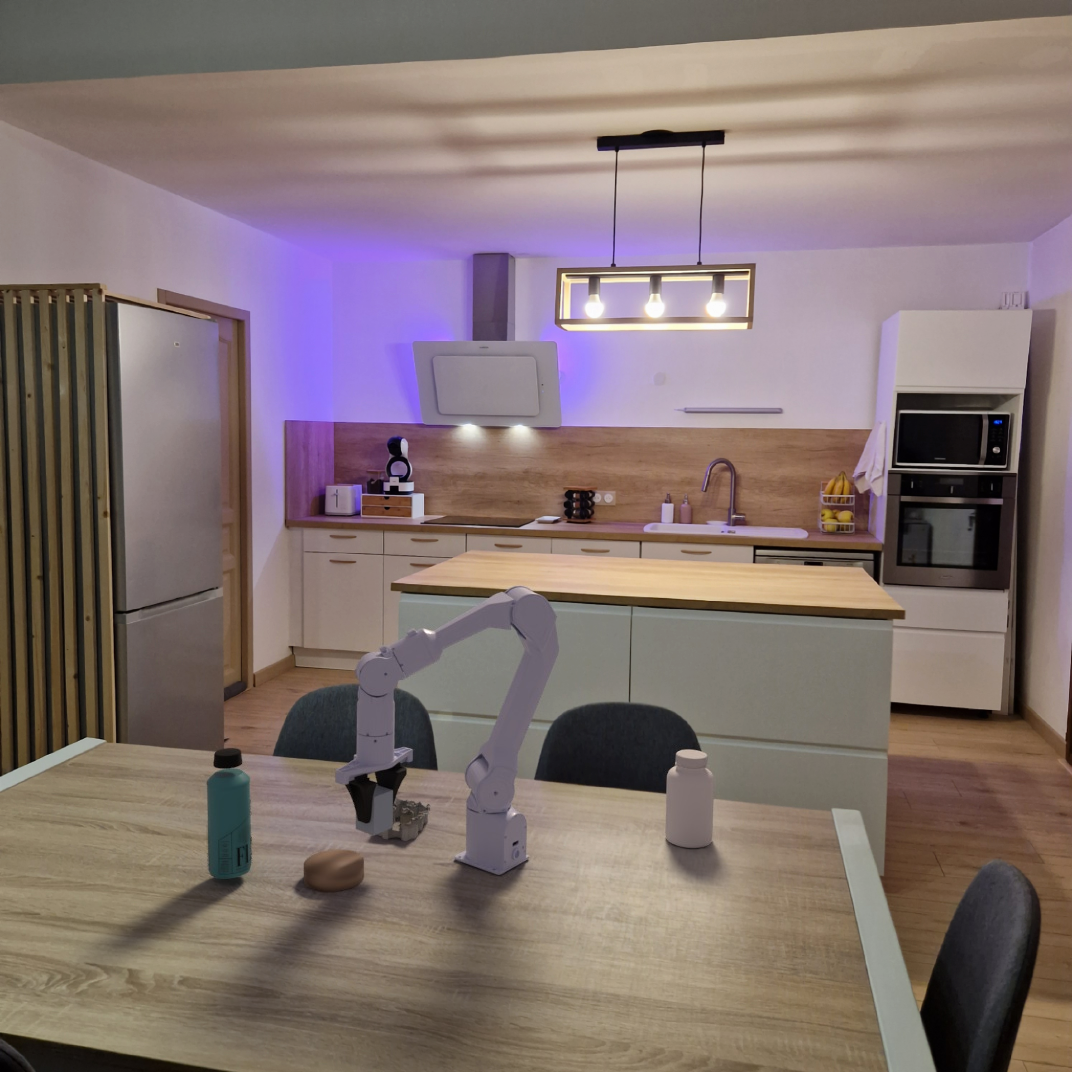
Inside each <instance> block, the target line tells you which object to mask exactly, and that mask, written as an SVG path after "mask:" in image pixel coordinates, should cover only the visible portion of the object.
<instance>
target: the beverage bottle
mask: <svg viewBox="0 0 1072 1072" xmlns="http://www.w3.org/2000/svg"><path fill="white" fill-rule="evenodd" d="M242 765H243V755H242V751H241V749H240V748H236V747H235V748H234V747H226V748H222V749H218V750H216V751H215V752H214V754H213V768H215V769H219V770H217V771H215V772H214V773H213V774H212V775H210V776H209V778H207V781H206V784H205V785H206V793H207V794H206V795H207V797H206V798H207V799H206V800H207V805H206V807H207V809H206V810H207V821H206V822H207V833H206V836H207V838H206V840H207V845H206V850H207V856H206V857H207V858H206V863H207V864H206V865H207V867H206V869H207V870H208V872H209V875H210V876H211V877H213V878H215V879H216V878H217V879H224V880H225V879H226V880H227V879H234V878H238V877H241V876H244V875H246V874H247V873H249V871H251V867H252V864H253V861H252V860H253V849H252V848H253V847H252V842H253V838H252V833H253V832H252V824H251V823H252V822H251V815H252V810H251V809H252V807H251V803H252V800H251V799H252V797H251V790H250V789H251V785H250V782H251V777H250V776H249V775H248V773H246V772H245V771H244V770H242V769H240V768H239V767H240V766H242Z"/></svg>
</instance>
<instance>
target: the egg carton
mask: <svg viewBox="0 0 1072 1072" xmlns="http://www.w3.org/2000/svg"><path fill="white" fill-rule="evenodd" d="M430 811H431V805H430V804H429V803H427V804H426V805H423V804H422V801H418V802H416V801H415V800H409V799H406V800H403V799H401V798H399V797H396V798H395V802H394V805H393V828H391V829H388V830H386V831H384V832H381V833H379V834H377V836H380V837H382V839H383V840H390V839H392V838H400V840H401V841H403V842H408V841H409V840H414V839H417V838H418V834H419V832H421V831H423V827H424V824H428V823H429V812H430ZM396 818H397V819H398V818H400V820H399V821H400V825H395V824H396Z"/></svg>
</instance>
